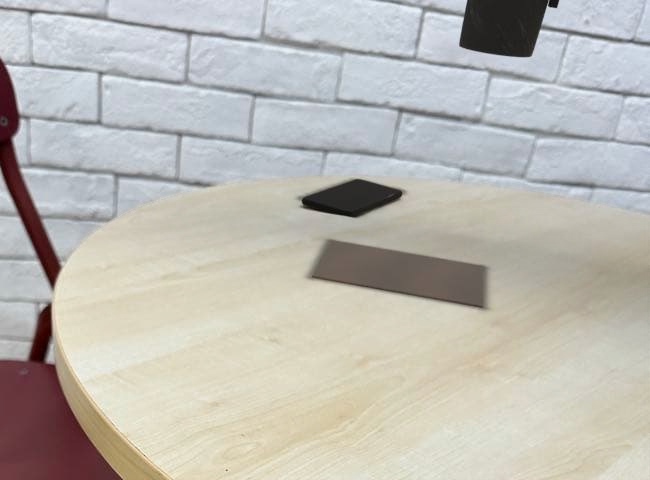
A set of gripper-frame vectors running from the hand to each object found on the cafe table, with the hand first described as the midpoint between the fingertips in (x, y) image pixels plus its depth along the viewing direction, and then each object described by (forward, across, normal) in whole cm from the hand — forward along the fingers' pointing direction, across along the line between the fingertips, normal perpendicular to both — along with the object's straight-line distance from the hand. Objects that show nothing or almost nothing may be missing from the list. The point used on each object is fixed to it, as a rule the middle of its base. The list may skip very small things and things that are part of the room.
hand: (507, 0), depth 80 cm
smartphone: (+23, -12, +13) cm, 29 cm away
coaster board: (+23, -4, -13) cm, 27 cm away
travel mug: (+4, 0, 0) cm, 4 cm away
